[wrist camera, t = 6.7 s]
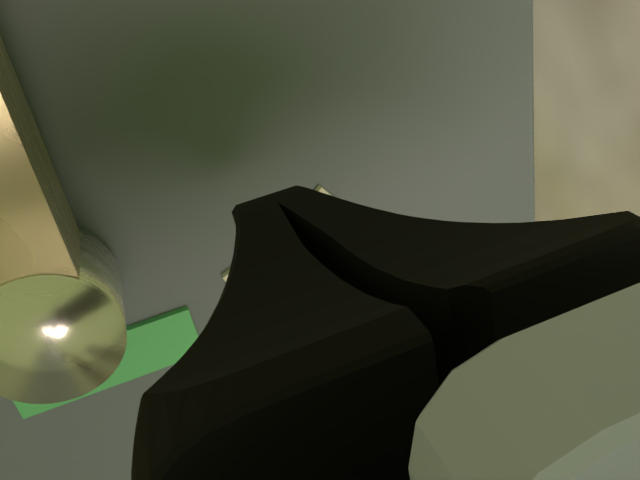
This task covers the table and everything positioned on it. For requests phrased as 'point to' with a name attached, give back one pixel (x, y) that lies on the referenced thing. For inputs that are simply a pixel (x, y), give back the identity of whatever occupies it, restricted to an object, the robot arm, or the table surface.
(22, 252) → the brass lever
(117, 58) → the dial plate
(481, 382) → the robot arm
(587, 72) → the table surface
